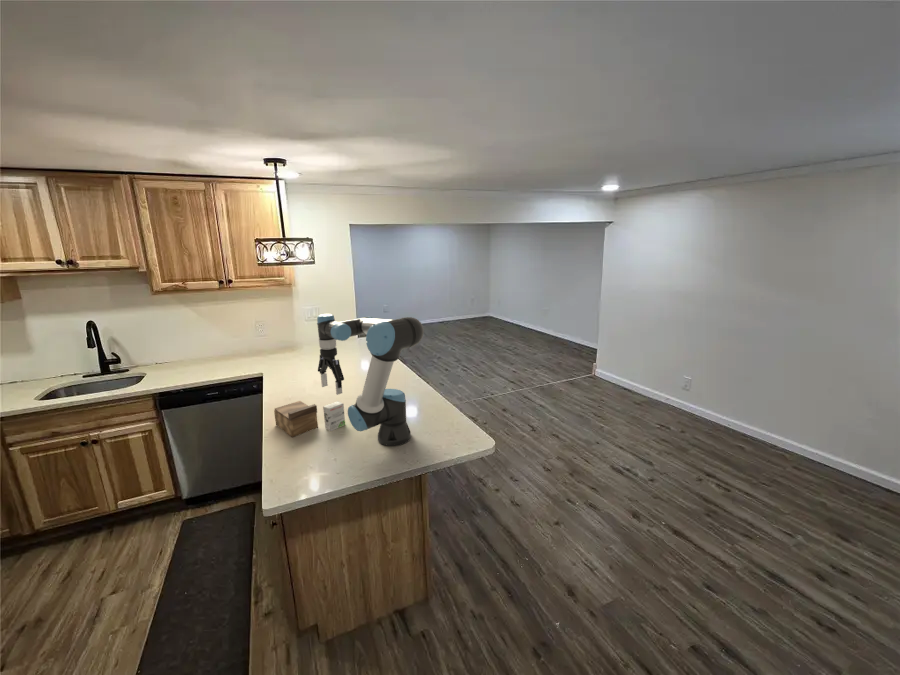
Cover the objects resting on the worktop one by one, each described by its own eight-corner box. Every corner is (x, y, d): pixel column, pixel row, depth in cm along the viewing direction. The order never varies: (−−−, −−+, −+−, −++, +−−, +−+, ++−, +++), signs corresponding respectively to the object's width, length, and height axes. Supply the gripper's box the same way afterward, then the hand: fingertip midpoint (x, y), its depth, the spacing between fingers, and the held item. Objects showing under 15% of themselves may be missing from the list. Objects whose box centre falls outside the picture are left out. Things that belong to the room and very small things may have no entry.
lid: (317, 412, 192) (316, 405, 191) (290, 421, 183) (290, 414, 182) (300, 402, 205) (299, 395, 204) (274, 410, 196) (273, 402, 195)
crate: (318, 427, 195) (316, 412, 193) (292, 437, 186) (290, 421, 184) (301, 416, 207) (299, 402, 205) (275, 425, 198) (274, 410, 196)
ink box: (339, 422, 201) (338, 400, 198) (345, 425, 198) (343, 403, 195) (324, 428, 195) (322, 405, 192) (330, 431, 191) (328, 408, 188)
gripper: (349, 351, 180) (353, 394, 185) (322, 340, 197) (325, 381, 202) (334, 354, 175) (338, 399, 180) (307, 343, 192) (312, 385, 197)
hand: (331, 390), depth 191 cm, fingers open, 13 cm apart
